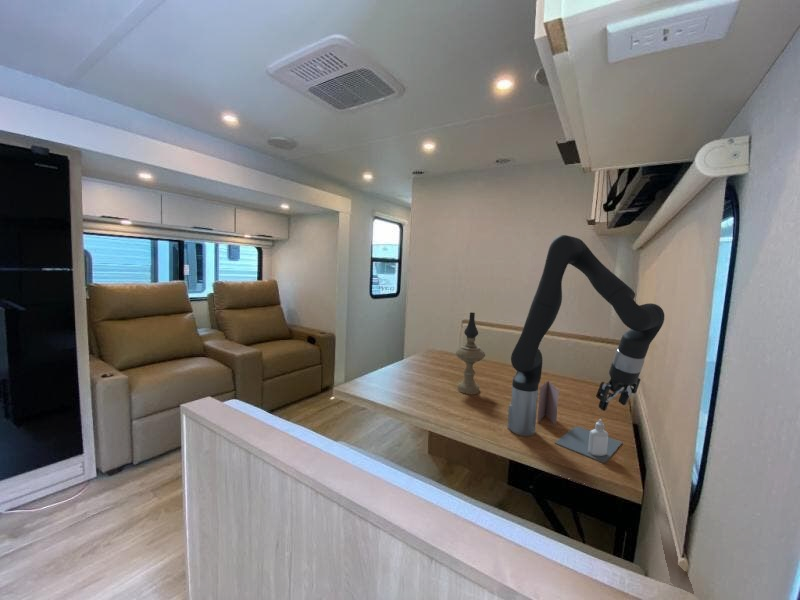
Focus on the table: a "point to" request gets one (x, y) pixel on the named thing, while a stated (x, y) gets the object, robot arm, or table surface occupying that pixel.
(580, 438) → the mat
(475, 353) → the oil lamp
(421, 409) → the table surface
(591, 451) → the eye dropper bottle
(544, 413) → the greeting card
